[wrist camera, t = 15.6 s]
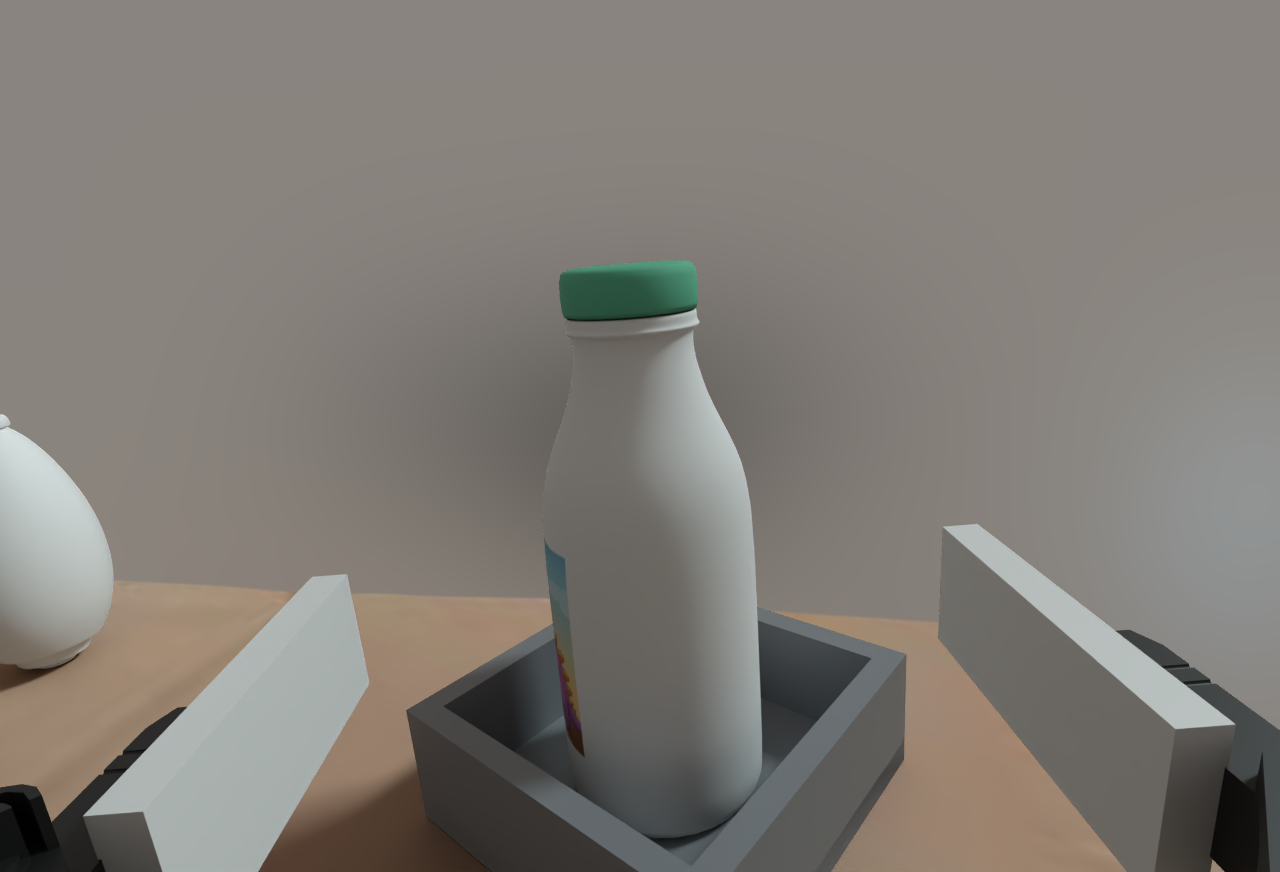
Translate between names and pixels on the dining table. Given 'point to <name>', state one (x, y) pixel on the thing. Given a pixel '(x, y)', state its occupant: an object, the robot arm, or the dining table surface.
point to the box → (610, 849)
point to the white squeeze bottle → (47, 559)
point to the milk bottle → (650, 562)
